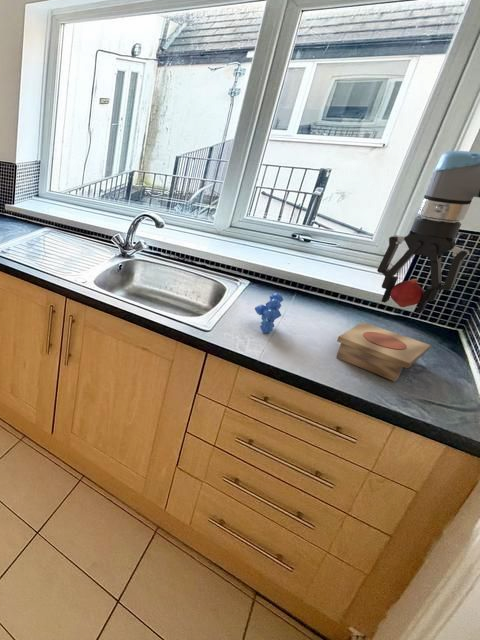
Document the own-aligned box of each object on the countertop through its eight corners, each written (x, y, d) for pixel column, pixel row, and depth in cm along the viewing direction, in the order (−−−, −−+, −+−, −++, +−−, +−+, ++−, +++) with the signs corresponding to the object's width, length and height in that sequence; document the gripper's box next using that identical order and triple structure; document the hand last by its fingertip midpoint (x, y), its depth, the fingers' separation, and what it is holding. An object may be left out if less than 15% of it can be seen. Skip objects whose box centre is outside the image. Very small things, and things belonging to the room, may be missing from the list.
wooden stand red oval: (421, 364, 110) (431, 344, 108) (400, 384, 102) (410, 362, 100) (355, 340, 121) (362, 321, 119) (331, 355, 114) (338, 335, 112)
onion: (384, 306, 107) (396, 278, 104) (386, 299, 111) (399, 271, 108) (415, 314, 103) (429, 286, 100) (417, 307, 107) (431, 279, 104)
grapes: (252, 317, 133) (262, 283, 128) (277, 324, 129) (289, 290, 124) (245, 332, 125) (257, 297, 120) (273, 341, 121) (285, 304, 116)
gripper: (380, 211, 105) (349, 294, 113) (495, 231, 89) (450, 325, 98) (391, 208, 108) (361, 289, 116) (504, 226, 93) (459, 318, 101)
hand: (401, 305), depth 107 cm, fingers closed on onion, 6 cm apart
